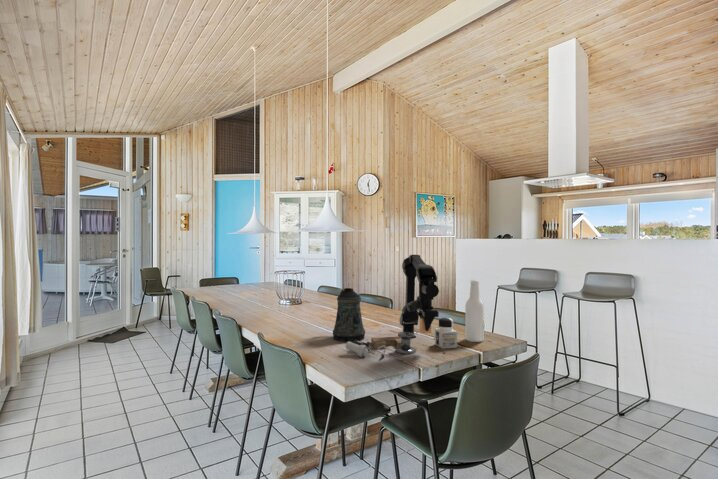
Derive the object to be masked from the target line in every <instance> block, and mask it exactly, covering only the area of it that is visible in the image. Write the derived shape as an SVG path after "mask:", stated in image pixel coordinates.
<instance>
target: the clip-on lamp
mask: <svg viewBox="0 0 718 479" xmlns="http://www.w3.org/2000/svg"><path fill="white" fill-rule="evenodd" d="M370 345H371V341H366V342H364V341H363V340H362V341H359V340H354V342H345V349H346V350H349V351H350V352H353V353H355V354H356V355H358V357H361V358H364V357H366V356H367V355H368V354H369V351H370V353H371V354H375V353H376V352H378V351H379V350H381V349H382V348H381V347H383V346H384V345H383V346H381V347H379V348H378V349H376V350H375V351H372V350H371V348H370ZM384 347H385V346H384ZM380 348H381V349H380ZM383 349H384V350H383V353H381V354H380V355H381V356H380V357H381V358H383V359H384V358H385V353H386V348H383Z"/></svg>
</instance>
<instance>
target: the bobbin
mask: <svg viewBox="0 0 718 479" xmlns="http://www.w3.org/2000/svg"><path fill="white" fill-rule="evenodd" d="M414 335H415V332H414V333H411V332H403V331H400V332H398V333H397V337H401V347H397V346H396V348H395V353H397V354H401V355H413V354H416V352H417V349H416V348H415V347H412V346H411V337H414Z"/></svg>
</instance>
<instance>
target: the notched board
mask: <svg viewBox="0 0 718 479" xmlns="http://www.w3.org/2000/svg"><path fill="white" fill-rule="evenodd" d="M370 340H371V341H370V344H372V346H373V348H374V349H376V350H377V349H378V348H379V347H381V346H383V345H384V346H385V347H384V346H383V347H381V348H380V349H379V350H381V349H387V346H395V347H396V348H397V347H401V337H399V336H382V337H381V336H377V337H371V338H370Z"/></svg>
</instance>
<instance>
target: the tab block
mask: <svg viewBox="0 0 718 479" xmlns="http://www.w3.org/2000/svg"><path fill="white" fill-rule="evenodd" d="M419 332H420V333H421V334H431V333H432V325H431V326H430V328H429V330H428V331H426V330H425V324H424V319H423V318H420V317H419Z"/></svg>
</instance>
